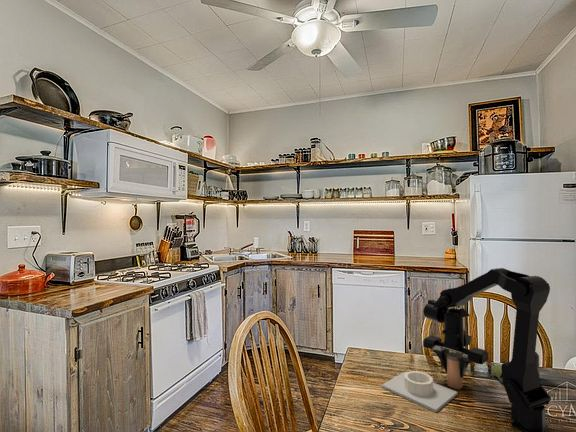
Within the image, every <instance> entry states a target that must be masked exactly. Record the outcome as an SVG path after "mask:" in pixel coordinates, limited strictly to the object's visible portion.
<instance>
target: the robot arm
mask: <svg viewBox="0 0 576 432" xmlns="http://www.w3.org/2000/svg"><path fill="white" fill-rule="evenodd" d="M496 286H498V287H500V288H501V289H503V291H507V292H508V293H510V295H511V296H510V297H511V300H512V303H513V304H514V306H515V310H516V311H515V323H514V333H513V342H512V355H511V360H510V361H507V362H503V363H501V365H500V366H501V368H502V374H501V376H500V378H502V382H501V383H502V386H503V388H504V389H505V392H506V396H507V398H508V402H509V403H510V404H511V405H510V417H511V421H512V422H511V427H514V428H516V429H517V430H520V431H523V432H547V430H548V428H549V426H548V425H547V423H546V422H547V421H546V405H549V404H550V402H551V400H552V398H551V396H550V395H549V393H548V392H547V391H546V390H545V388H544V387H543V386H542V384H541V383H540V380H539V373H538V371H537V369H536V367H535V365H534V360H535V352H536V351H537V348H536V347H537V339H538V338H537V337H538V336H537V335H538V330H539V329H538V327H539V319H540V317H539V316H540V312H541V310H542V309H543V307H544V306H545V304H546V303H547V301H548V298H549V295H550V292H551V288H550V287H551V286H550V283H548V282H547V280H546V279H544V278H543V277H541V276H539V275H532V276H531V275H528V274H525V273H521V272H516V271H512V270H509V269H506V268H505V267H504V268H503V267H499V268H492V269H489V270H488V271H487V272H486V273H483V274H481V275H480V276H477V277H476V278H474V279H472V280H470V281H468V282H466V283H464V284H462V285H460V286H459V285H458V286H454V287H451V288H446V289H443V290H441V291H440V292H439V296H438V299H437V300H434V299H428V300H427V302H426V305H424V308H423V310H422V314H423V316H424V317H425V318H426V319H429V320H431V321H433V322H437V323H440V324H443V330H442V331H441V332H442V334H443V337H444V338H443V339H444V340H442V338H441V337H440V336H435V335H433V334H431V335H429V336H426V337H425V338H423V340H422V347H423V348H427V349H429V350H432V349H433V348H434V349H433V350H432V352H433V353H435V354H436V356H437V357H438V359H439V361H440V363H441V364H442V367H443V369H444V371H445V373H447V353H448V352H454V353H458V354H460V355H461V356H462V358H460V359H459V360H460V376H461V378H462V379H463V378H464V376H465V375H466V374H465V373H466V371H467V368H468V366H469V364H471V363H475V364H478V365H483V364H484V363H486V362H487V361H488V360H489V353H488V351H487V350H486V349H483V348H479V347H475V346H474V347H472V348H471V349H469V348H466V347H467V346H471V341H472V335H470V334H466V330H465V329H464V318H466V317H468V318H469V317H470V314H469V313H468V311H466V310H465V308H462V306H463V307H464V305H466V304H468V303H469V302H471V299H472V298H473V297H475V296H477V295H479V294H481V293H483V292H485V291H487V290H489V289H491V288H494V287H496ZM457 307H461V308H457Z"/></svg>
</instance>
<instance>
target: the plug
mask: <svg viewBox="0 0 576 432" xmlns="http://www.w3.org/2000/svg"><path fill="white" fill-rule="evenodd" d="M462 357H463V355H462V354H461V353H457V352H454V351H449V352H448V353H447V372H446V383H447V386H448V388H450V389H453V390H454V389H457V390H460V389H462V388H463V378H461V376H460V360H459V359H460V358H462Z"/></svg>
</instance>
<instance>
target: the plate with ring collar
mask: <svg viewBox="0 0 576 432" xmlns="http://www.w3.org/2000/svg"><path fill="white" fill-rule="evenodd" d="M381 388H382V389H384V390H385V391H388V392H390V393H393V394H395V395H398V396H400V397H401V398H404V399H406V400H408V401H411V402H412V403H414V404H417V405H418V406H421V407H423V408H426V409H428V410H430V411H432V412H434V413H437V412H438V411H440V410H441V409H442V408H443V407H445V406H446V405H447V404H448V403H449V402H450V401H452V400H453V399H454V398H455V397H457V396H458V391H456V390H454V389H452V388H449V387H446V386H443V385H441V384H438V383H436V382H434V378H433V377H432V376H431V375H430V374H429V373H425V372H424V371H423V372H422V371H416V370H415V371H413V370H412V371H403V372H402V373H400V374H398V375H396V376H395V377H393V378H391V379H390V380H387V381H386V382H384V383H383V384H381Z"/></svg>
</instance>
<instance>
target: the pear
mask: <svg viewBox="0 0 576 432" xmlns="http://www.w3.org/2000/svg"><path fill="white" fill-rule="evenodd" d="M501 366H502V365H500V364H496V365H495V364H494V365H492V366H491V376H492V377H497V379H498V380H499V382H501V383H502V378H500V376H501V374H502V368H501Z"/></svg>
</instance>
